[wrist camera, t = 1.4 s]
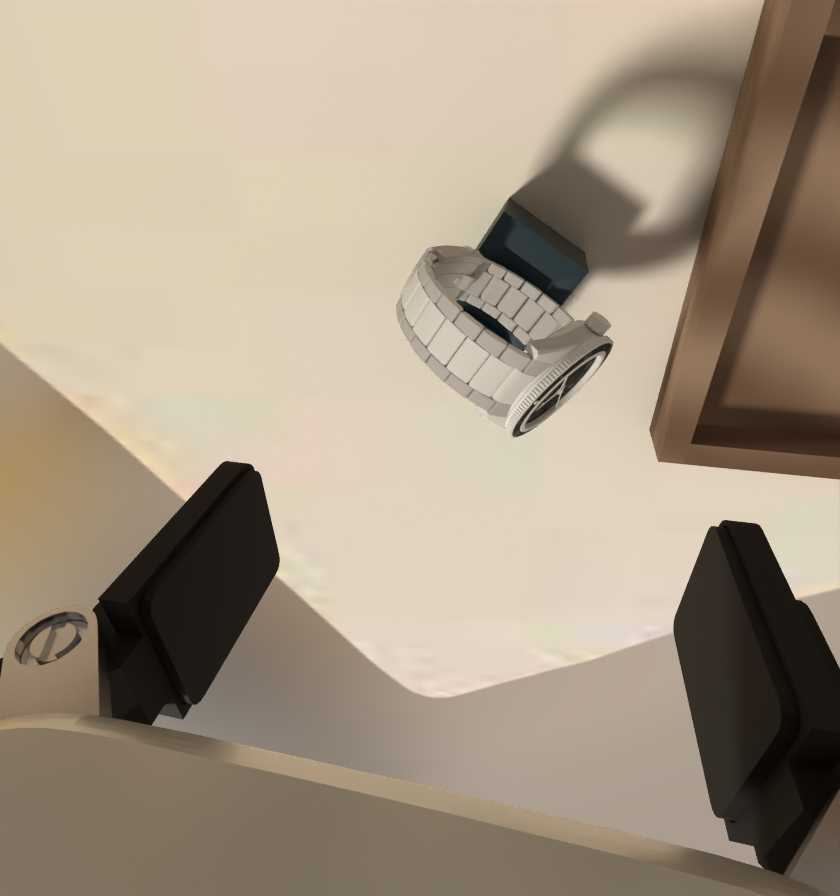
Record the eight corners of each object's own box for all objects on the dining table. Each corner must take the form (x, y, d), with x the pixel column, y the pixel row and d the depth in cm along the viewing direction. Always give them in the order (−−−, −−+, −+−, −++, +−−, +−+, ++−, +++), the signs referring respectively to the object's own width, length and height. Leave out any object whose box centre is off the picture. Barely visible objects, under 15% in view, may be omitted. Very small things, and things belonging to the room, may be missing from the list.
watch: (543, 363, 28) (538, 493, 19) (415, 277, 27) (347, 372, 18) (619, 275, 25) (656, 382, 16) (478, 172, 23) (432, 225, 15)
